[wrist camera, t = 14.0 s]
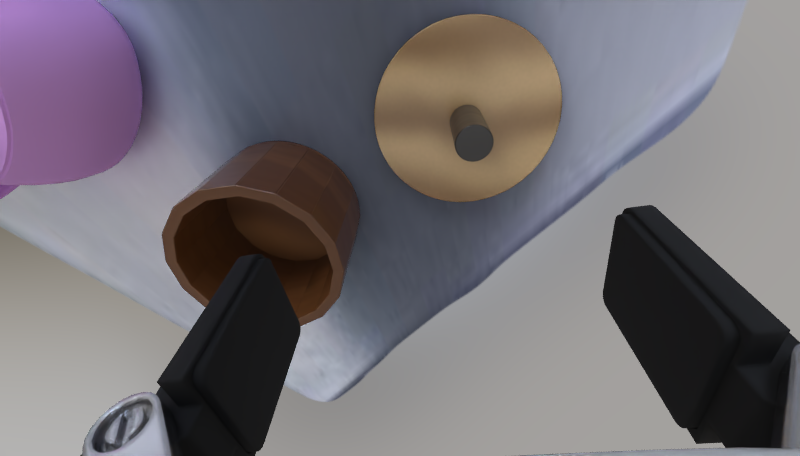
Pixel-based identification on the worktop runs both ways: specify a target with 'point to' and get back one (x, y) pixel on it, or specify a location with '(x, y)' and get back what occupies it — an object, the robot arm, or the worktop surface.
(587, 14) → the worktop surface
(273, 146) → the brown wooden cylinder
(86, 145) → the teapot
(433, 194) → the lid
